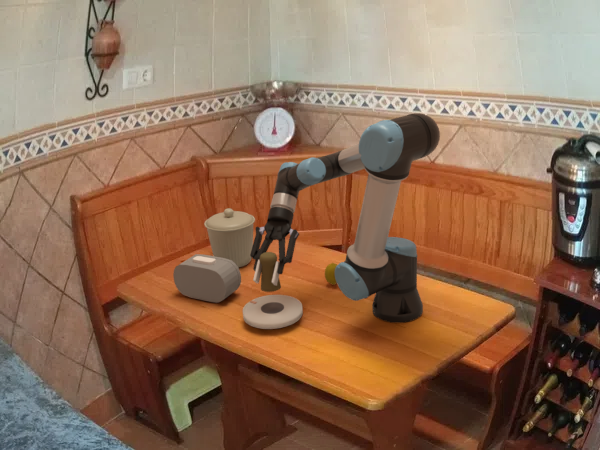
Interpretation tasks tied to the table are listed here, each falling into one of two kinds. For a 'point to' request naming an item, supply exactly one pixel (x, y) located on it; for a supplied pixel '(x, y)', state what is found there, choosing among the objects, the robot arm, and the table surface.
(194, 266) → the alarm clock
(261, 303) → the turntable
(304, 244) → the table surface
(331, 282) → the lemon
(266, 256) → the cork
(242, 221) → the canister
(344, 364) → the table surface
